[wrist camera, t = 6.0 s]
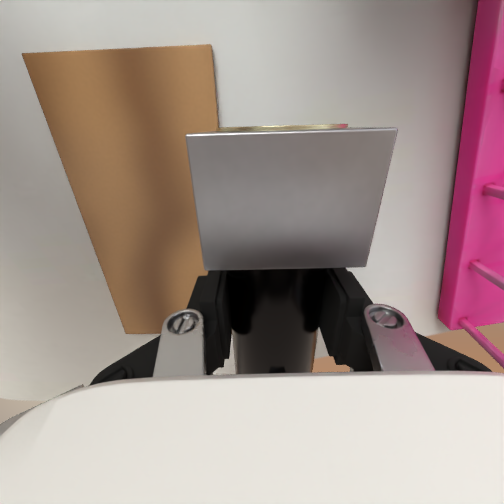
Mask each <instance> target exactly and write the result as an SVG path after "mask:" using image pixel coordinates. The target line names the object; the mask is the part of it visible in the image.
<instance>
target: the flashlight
mask: <svg viewBox="0 0 504 504" xmlns="http://www.w3.org/2000/svg"><path fill="white" fill-rule="evenodd" d="M397 131H398V129H397V128H367V127H348V124H322V125H288V126H254V127H221V128H216V131H208V132H198V133H189V134H186V135H185V139H186V146H187V153H188V160H189V167H190V174H191V182H192V189H193V196H194V203H195V210H196V217H197V224H198V231H199V238H200V245H201V252H202V259H203V266H204V270H206V271H208V270H227V279H228V289H229V300H230V311H231V322H232V336H233V347H234V358H235V369H236V374H273V373H312V369H313V362H314V356H315V349H316V342H317V335H318V328H319V321H320V314H321V307H322V300H323V293H324V286H325V280H326V273H327V268H345V267H366V264H367V260H368V255H369V251H370V247H371V243H372V238H373V234H374V230H375V225H376V221H377V217H378V213H379V208H380V204H381V200H382V196H383V191H384V187H385V183H386V178H387V174H388V170H389V166H390V161H391V157H392V153H393V149H394V144H395V140H396V136H397Z"/></svg>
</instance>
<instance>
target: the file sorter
mask: <svg viewBox="0 0 504 504" xmlns="http://www.w3.org/2000/svg"><path fill="white" fill-rule="evenodd" d="M438 319H439V320H440V321H441V322H442V323H444V324H445V325H446V326H447V327H448V328H449V329H450V330H458V329H465V330H466V331H467V332H468V333H469V334H470V335H471V336H472V337H473V338H474V339H475V340H476V341H477V342H478V343H479V344H480V345H481V346H482V347H483V348H484V349H485V350H486V351H487V352H488V353H489V354H490V355H491V356H492V357H493V358H494V359H495V360H496V361H497V362H498V363H499V364H500V365H501V366H502V367H503V368H504V354H503V353H502V352H501V351H499V350H498V349H497V348H496V347H495V346H494V345H493V344H492V343H491V342H490V341H489V340H488V339H487V338H486V337H485V336H484V335H482V334H481V333H480V332H479V331H478V330H477V329H476V328H475V327H477V326H484V325H490V324H496V323H502V322H504V0H479V1H478V8H477V15H476V23H475V30H474V38H473V45H472V53H471V61H470V69H469V77H468V85H467V93H466V101H465V109H464V117H463V125H462V133H461V141H460V148H459V156H458V164H457V172H456V180H455V188H454V196H453V204H452V212H451V219H450V227H449V235H448V243H447V251H446V259H445V267H444V274H443V281H442V289H441V297H440V303H439V310H438Z"/></svg>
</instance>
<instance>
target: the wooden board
mask: <svg viewBox="0 0 504 504" xmlns="http://www.w3.org/2000/svg"><path fill="white" fill-rule="evenodd" d="M22 56H23V59H24V62H25V64H26V67H27V70H28V72H29V75H30V78H31V80H32V83H33V86H34V88H35V91H36V94H37V96H38V99H39V102H40V105H41V107H42V110H43V113H44V115H45V118H46V121H47V123H48V126H49V129H50V131H51V134H52V137H53V139H54V142H55V145H56V147H57V150H58V153H59V156H60V158H61V161H62V164H63V166H64V169H65V172H66V174H67V177H68V180H69V182H70V185H71V188H72V190H73V193H74V196H75V198H76V201H77V204H78V207H79V209H80V212H81V215H82V217H83V220H84V223H85V225H86V228H87V231H88V233H89V236H90V239H91V241H92V244H93V247H94V250H95V252H96V255H97V258H98V260H99V263H100V266H101V268H102V271H103V274H104V276H105V279H106V282H107V284H108V287H109V290H110V292H111V295H112V298H113V301H114V303H115V306H116V309H117V311H118V314H119V317H120V319H121V322H122V325H123V327H124V330H125V333H126V334H161V331H162V326H163V323H164V321H165V320H166V318H167V317H168V316H170V315H171V314H172V313H174V312H176V311H178V310H182V309H186V308H187V305H188V302H189V300H190V297H191V294H192V291H193V289H194V286H195V283H196V280H197V278H198V276H205V275H207V274H208V271H209V270H208V271H206V270H204V266H203V259H202V252H201V245H200V238H199V231H198V224H197V217H196V210H195V203H194V196H193V189H192V182H191V174H190V167H189V160H188V153H187V146H186V139H185V135H186V134H189V133H198V132H208V131H216V128H219V123H218V111H217V100H216V88H215V76H214V64H213V53H212V46H211V44H206V45H185V46H165V47H144V48H124V49H103V50H83V51H62V52H42V53H22Z"/></svg>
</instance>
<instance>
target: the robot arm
mask: <svg viewBox="0 0 504 504" xmlns="http://www.w3.org/2000/svg"><path fill="white" fill-rule="evenodd" d="M319 328H320V330H321V333H322V336H323V339H324V342H325V345H326V348H327V351H328V354H329V356H333V357H334V360H335V363H336V365H347V366H349V367H350V372H319V373H273V374H234V375H213V372H214V371H215V370H216V369H217V368H219V367H224V359H229V355H230V345H231V334H232V322H231V311H230V300H229V289H228V279H227V270H209V271H208V274H207V275H205V276H198V278H197V280H196V283H195V286H194V289H193V291H192V294H191V297H190V300H189V302H188V305H187V308H186V309H182V310H178V311H176V312H174V313H172V314H171V315H170V316H168V317H167V318H166V320H165V321H164V323H163V326H162V331H161V335H160V336H158V337H156V338H155V339H153V340H151V341H150V342H148V343H146V344H145V345H143V346H141V347H140V348H138V349H136V350H135V351H133V352H132V353H130V354H128V355H127V356H125V357H123V358H122V359H120V360H118V361H117V362H115V363H113V364H112V365H110V366H108V367H107V368H105V369H104V370H102V371H101V372H100V373H99V374H98V375H97V376H96V377H95V378H94V379H93V381H92V382H91V384H90V385H89V386H86V387H84V385H83V384H82V385H80V386H78V387H76V388H74V389H72V390H69V391H67V392H65V393H63V394H61V395H59V396H57V397H54V398H52V399H50V400H48V401H46V402H44V403H42V404H40V405H38V406H35V407H33V408H31V409H29V410H27V411H25V412H22V413H20V414H19V415H16V416H14V417H12V418H10V419H8V420H6V421H5V422H3V423H1V424H0V504H504V373H497V372H492V371H491V370H490V369H489V368H487V367H486V366H484V365H483V364H482V363H480V362H478V361H476V360H474V359H472V358H470V357H468V356H466V355H464V354H461V353H459V352H457V351H455V350H453V349H450V348H448V347H446V346H444V345H442V344H440V343H437V342H435V341H433V340H431V339H428V338H426V337H424V336H422V335H420V334H418V333H416V332H414V330H413V328H412V326H411V324H410V322H409V320H408V319H407V317H406V316H405V315H404V314H403V313H402V312H400V311H399V310H397V309H395V308H394V307H391V306H388V305H384V304H373V302H372V301H371V300H370V298H369V297H368V295H367V294H366V292H365V291H364V289H363V288H362V286H361V285H360V284H359V282H358V281H357V279H356V278H355V276H354V275H353V273H352V272H350V271H347V269H346V268H327V273H326V280H325V286H324V293H323V300H322V307H321V314H320V321H319Z"/></svg>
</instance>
